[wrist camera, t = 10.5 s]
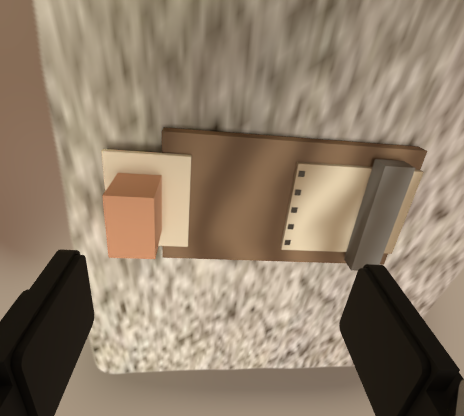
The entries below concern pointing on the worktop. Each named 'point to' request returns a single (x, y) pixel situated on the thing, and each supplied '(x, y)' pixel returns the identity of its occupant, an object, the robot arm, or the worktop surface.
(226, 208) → the ticket board
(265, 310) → the worktop surface
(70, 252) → the robot arm
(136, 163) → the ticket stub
